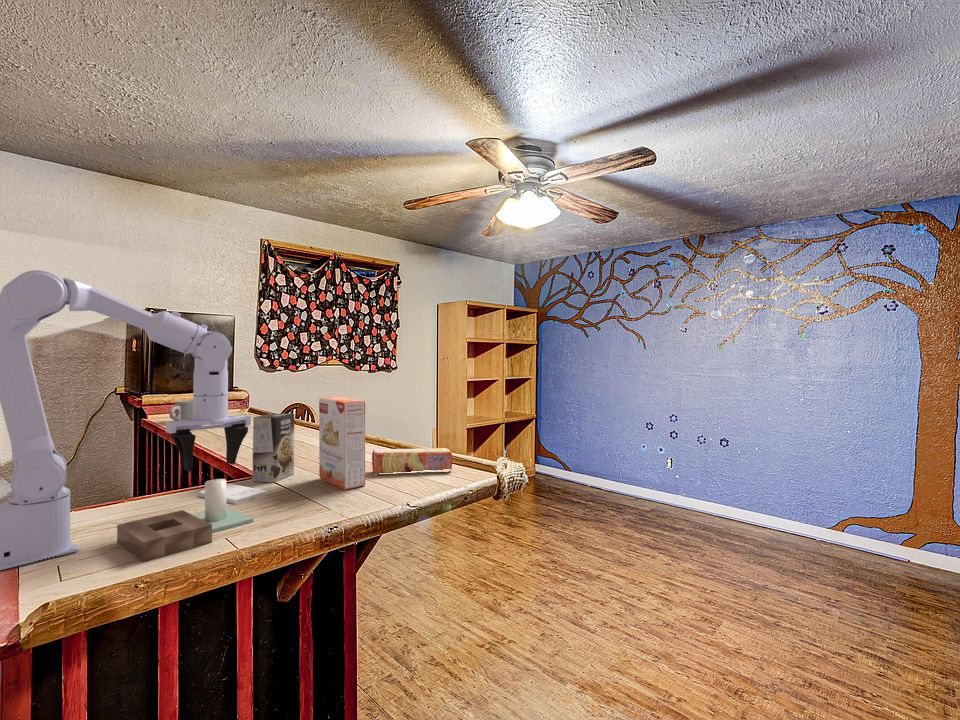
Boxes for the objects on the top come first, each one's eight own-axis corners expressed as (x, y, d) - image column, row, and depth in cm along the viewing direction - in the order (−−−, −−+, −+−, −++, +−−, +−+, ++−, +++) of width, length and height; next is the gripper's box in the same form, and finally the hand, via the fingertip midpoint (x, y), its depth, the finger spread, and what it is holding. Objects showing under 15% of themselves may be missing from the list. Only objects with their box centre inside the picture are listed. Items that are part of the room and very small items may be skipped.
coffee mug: (193, 421, 222) (193, 399, 222) (206, 423, 217) (206, 400, 217) (162, 425, 211) (162, 401, 211) (174, 427, 206) (174, 403, 205)
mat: (203, 535, 86) (203, 531, 86) (177, 521, 92) (177, 518, 92) (253, 521, 93) (253, 518, 93) (226, 509, 100) (226, 506, 100)
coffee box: (275, 483, 120) (275, 417, 120) (251, 481, 121) (251, 416, 121) (295, 474, 129) (295, 413, 129) (272, 472, 130) (273, 412, 130)
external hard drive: (231, 489, 116) (268, 497, 111) (198, 498, 109) (236, 507, 103) (231, 482, 116) (268, 489, 110) (198, 491, 109) (236, 499, 103)
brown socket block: (143, 561, 75) (143, 542, 75) (117, 542, 82) (117, 524, 82) (211, 542, 83) (212, 524, 82) (182, 526, 90) (182, 510, 90)
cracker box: (317, 479, 124) (318, 396, 124) (339, 475, 128) (340, 395, 128) (342, 491, 114) (343, 401, 113) (366, 486, 118) (366, 399, 117)
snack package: (448, 468, 138) (449, 444, 138) (452, 474, 132) (453, 449, 132) (371, 471, 133) (371, 447, 133) (372, 477, 127) (372, 451, 127)
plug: (210, 523, 90) (209, 485, 90) (201, 518, 92) (201, 481, 92) (230, 517, 93) (229, 481, 93) (221, 513, 95) (221, 478, 95)
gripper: (176, 399, 84) (176, 477, 84) (258, 394, 96) (258, 463, 96) (161, 396, 89) (160, 471, 89) (241, 392, 100) (241, 458, 100)
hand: (210, 466), depth 93 cm, fingers open, 7 cm apart
